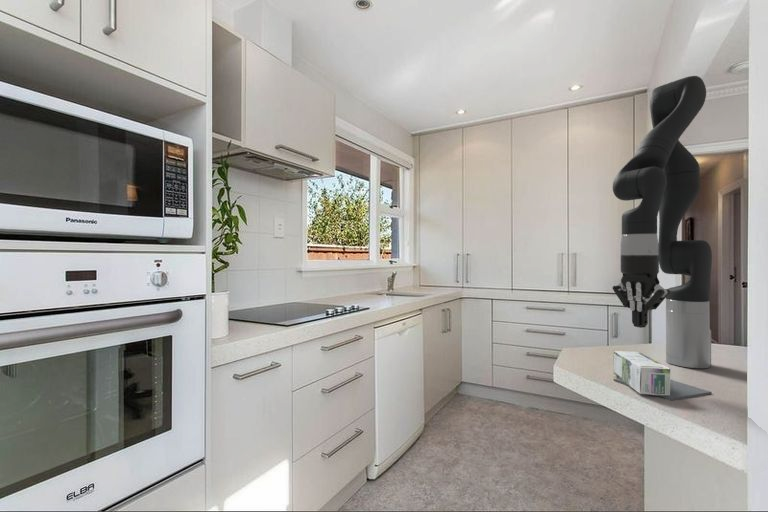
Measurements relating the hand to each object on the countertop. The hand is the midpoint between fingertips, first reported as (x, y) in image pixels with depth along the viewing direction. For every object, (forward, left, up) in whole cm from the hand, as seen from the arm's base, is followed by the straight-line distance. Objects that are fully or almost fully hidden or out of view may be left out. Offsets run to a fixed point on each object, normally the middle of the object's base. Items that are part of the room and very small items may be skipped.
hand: (639, 326), depth 90 cm
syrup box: (+1, -3, -9) cm, 10 cm away
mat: (+1, +6, -12) cm, 14 cm away
